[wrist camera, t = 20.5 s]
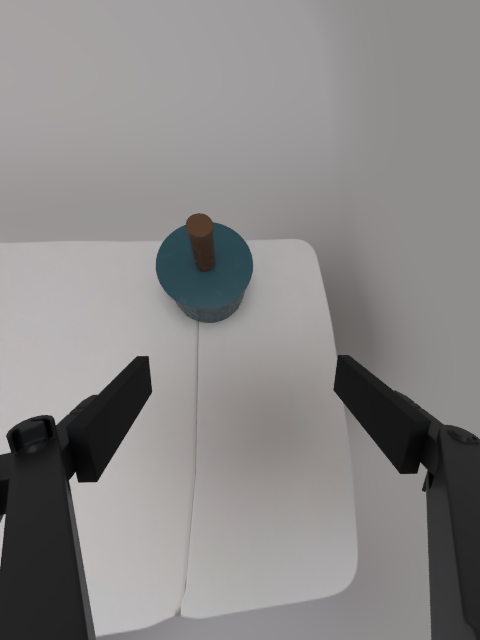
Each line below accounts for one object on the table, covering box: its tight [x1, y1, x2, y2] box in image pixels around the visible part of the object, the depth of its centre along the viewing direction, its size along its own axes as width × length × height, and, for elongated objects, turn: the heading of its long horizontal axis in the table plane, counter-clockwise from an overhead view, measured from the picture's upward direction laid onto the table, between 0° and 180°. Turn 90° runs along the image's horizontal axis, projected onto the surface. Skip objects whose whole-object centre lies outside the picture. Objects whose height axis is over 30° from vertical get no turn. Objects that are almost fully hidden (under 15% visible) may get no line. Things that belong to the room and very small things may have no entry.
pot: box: [175, 291, 245, 323], centre depth 36 cm, size 12×12×10 cm
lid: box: [156, 213, 253, 310], centre depth 27 cm, size 13×13×9 cm
